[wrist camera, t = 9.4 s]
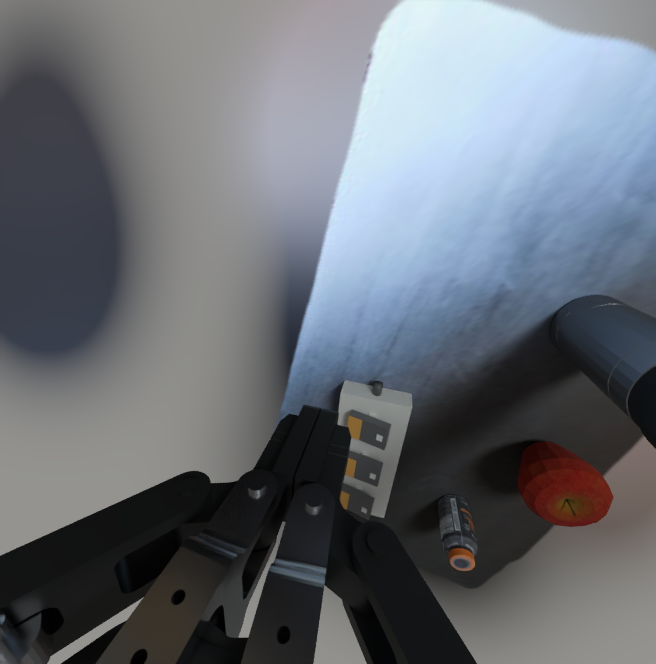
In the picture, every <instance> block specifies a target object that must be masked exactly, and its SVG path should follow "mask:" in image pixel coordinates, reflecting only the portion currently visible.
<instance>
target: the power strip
mask: <svg viewBox="0 0 656 664" xmlns="http://www.w3.org/2000/svg"><path fill="white" fill-rule="evenodd" d="M351 410H355V411H358V412H360V413H363V414H366V415H368V416H371V417H374V418H376V419H379V420H382V421H384V422H387V423H390V424H391V429H390V433H389V437H388V442H387V445H386V448H385V450H382V449H379V448H377V447H375V446H372V445H370V444H367V443H365V442H362V441H360V440H357V439H354V438H352V437H351V443H350V450H349V451H352V452H355V453H358V454H360V455H363V456H366V457H369V458H372V459H374V460H377V461H380V462H383V467H382V471H381V475H380V480H379V484H378V487H376V486H373V485H371V484H368V483H366V482H363V481H360V480H358V479H355V478H351V477H349V476H346V475H345V477H344V481H343V483H344V484H346V485H348V486H350V487H353V488H355V489H357V490H359V491H361V492H363V493H365V494H367V495H369V496H371V497H373V498H375V499H374V504H373V508H372V513H371V515H374V516H378V517H381V518H384V516H385V512H386V508H387V504H388V500H389V496H390V492H391V488H392V485H393V481H394V477H395V473H396V469H397V465H398V461H399V457H400V453H401V449H402V445H403V441H404V438H405V434H406V430H407V426H408V422H409V418H410V414H411V410H412V394H410V393H405V392H400V391H395V390H390V389H386V388H383V383H382V382H380V381H375V382H374V385H373V386H371V385H366V384H361V383H356V382H351V381H346V380H345V381H344V384H343V387H342V390H341V395H340V402H339V408H338V412H339V418H338V425H341V426H345V427H347V423H348V416H349V413H350V412H351Z"/></svg>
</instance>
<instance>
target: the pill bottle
mask: <svg viewBox="0 0 656 664" xmlns="http://www.w3.org/2000/svg"><path fill="white" fill-rule="evenodd" d="M438 514H439V523H440V532H441V540H442V546H443V549H444V550H445V552H446V553H447V554H448V555H449V560H450V564H451V565H452V566H453V567H454V568H456V569H458V570H461V571H468V570H471V569H473V568H474V566H475V561H474V556H475V555H476V553H477V549H478V547H477V542H476V537H475V532H474V528H473V523H472V518H471V513H470V509H469V505H468V503H467V501H466V500H465V499H463V498H462V497H459V496H456V495H446V496H444V497H442V498H440V499H439V501H438Z"/></svg>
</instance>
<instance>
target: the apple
mask: <svg viewBox="0 0 656 664" xmlns="http://www.w3.org/2000/svg"><path fill="white" fill-rule="evenodd" d="M517 487H518V489H519V491H520V493H521V495H522V498H523V499H524V501H525V503H526V505H527V507H528V508H529V509H531V510H532V511H533V512H534V513H535V514H536V515H538V516H540V517H541V518H543V519H545V520H547V521H549V522H551V523H553V524H555V525H560V526H569V527H573V526H586V525H589V524H592V523H596V522H598V521H599V520H600V519H601V518H603V517H604V516H605V515H606V514H607V512H608V510H609V508H610V505H611V502H612V500H613V495H612V493H611V490H610V488H609V486H608V484H607V483H606V481H605V479H604V478H603V476H602V475H601V473H600V472H598V471H597V470H596V469H595V468H594V467H593V466H591V465H590V464H589V463H587V462H586V461H584V460H583V459H581V458H580V457H578V456H577V455H575V454H574V453H572V452H570V451H568V450H567V449H565V448H563V447H562V446H560V445H557V444H555V443H552V442H545V441H543V442H537V443H534V444H532V445H530V446H528V447H527V448H526V449H525V450H524V452H523V454H522V457H521V463H520V469H519V476H518V484H517Z"/></svg>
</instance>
